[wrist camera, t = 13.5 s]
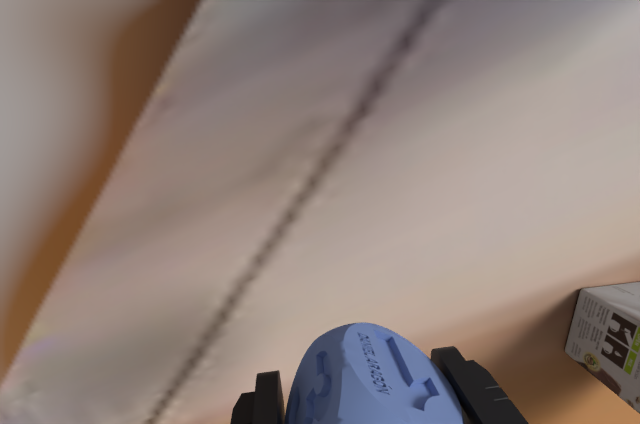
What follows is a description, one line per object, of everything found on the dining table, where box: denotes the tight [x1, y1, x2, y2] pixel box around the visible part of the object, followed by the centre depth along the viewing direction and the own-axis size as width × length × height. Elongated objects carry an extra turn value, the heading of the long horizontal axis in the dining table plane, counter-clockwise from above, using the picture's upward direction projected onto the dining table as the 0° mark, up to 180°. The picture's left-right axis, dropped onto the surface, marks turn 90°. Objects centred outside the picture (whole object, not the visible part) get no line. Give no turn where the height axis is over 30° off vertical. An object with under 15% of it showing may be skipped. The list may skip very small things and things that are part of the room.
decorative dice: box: [284, 323, 465, 424], centre depth 10 cm, size 4×4×4 cm
